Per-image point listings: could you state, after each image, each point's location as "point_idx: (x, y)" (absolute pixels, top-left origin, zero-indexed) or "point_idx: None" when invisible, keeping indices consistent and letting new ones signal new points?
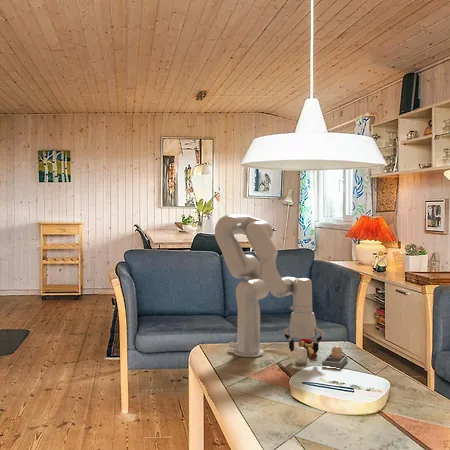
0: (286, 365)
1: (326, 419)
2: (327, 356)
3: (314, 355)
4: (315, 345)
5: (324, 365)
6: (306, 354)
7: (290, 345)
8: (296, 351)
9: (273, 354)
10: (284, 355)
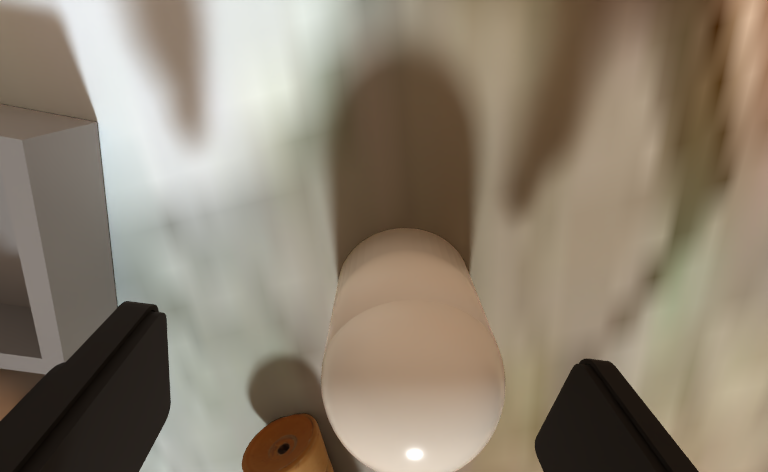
0: (600, 96)
1: None
2: None
3: (272, 454)
4: (9, 457)
5: (36, 119)
6: (328, 339)
7: (679, 455)
8: (500, 362)
9: None
10: None
